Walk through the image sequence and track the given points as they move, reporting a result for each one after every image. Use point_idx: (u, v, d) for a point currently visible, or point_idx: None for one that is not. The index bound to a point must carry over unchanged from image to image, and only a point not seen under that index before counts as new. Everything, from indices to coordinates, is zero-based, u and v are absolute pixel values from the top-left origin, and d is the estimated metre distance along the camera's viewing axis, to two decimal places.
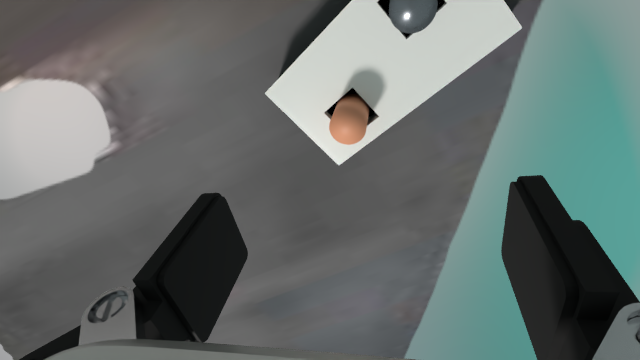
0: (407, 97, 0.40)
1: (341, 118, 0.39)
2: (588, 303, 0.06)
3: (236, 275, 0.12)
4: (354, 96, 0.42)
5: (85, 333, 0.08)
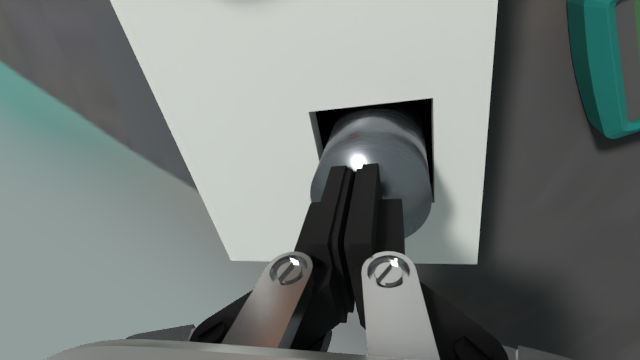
0: (163, 36, 0.13)
1: None
2: (357, 253, 0.08)
3: None
4: None
5: (260, 284, 0.08)
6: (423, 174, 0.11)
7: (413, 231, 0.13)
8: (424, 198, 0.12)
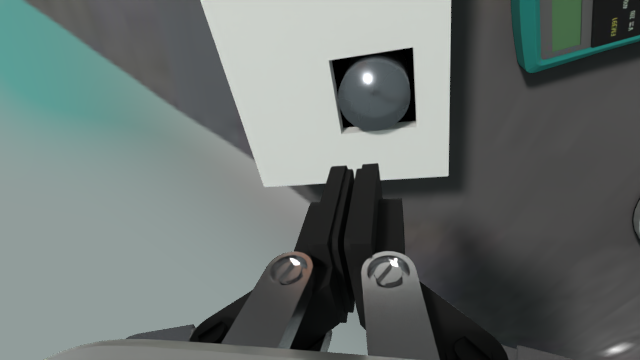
0: (230, 7, 0.20)
1: None
2: (356, 253, 0.08)
3: None
4: None
5: (260, 284, 0.08)
6: (405, 77, 0.20)
7: (400, 118, 0.21)
8: (406, 93, 0.20)
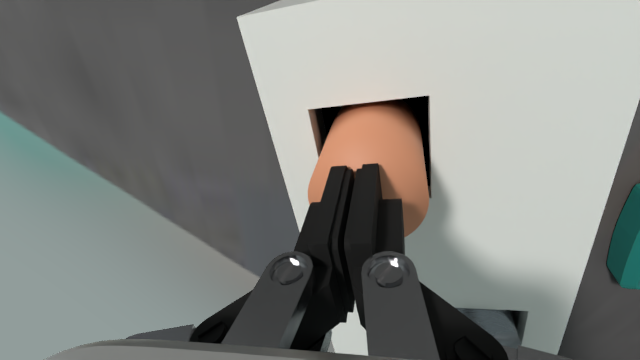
0: None
1: (404, 206, 0.12)
2: (356, 253, 0.08)
3: None
4: None
5: (260, 284, 0.08)
6: (517, 336, 0.19)
7: None
8: (515, 346, 0.19)
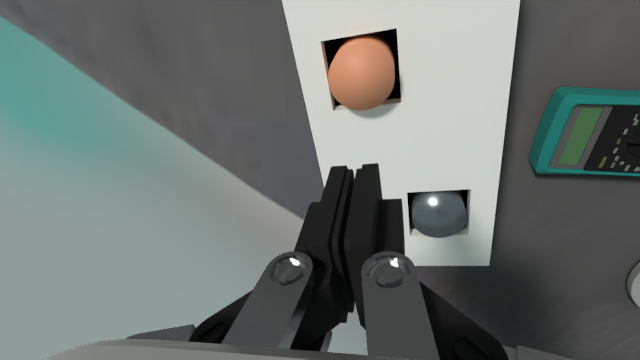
0: (338, 158, 0.27)
1: (381, 80, 0.22)
2: (356, 253, 0.08)
3: None
4: None
5: (261, 284, 0.08)
6: (464, 208, 0.27)
7: (457, 231, 0.29)
8: (463, 217, 0.28)
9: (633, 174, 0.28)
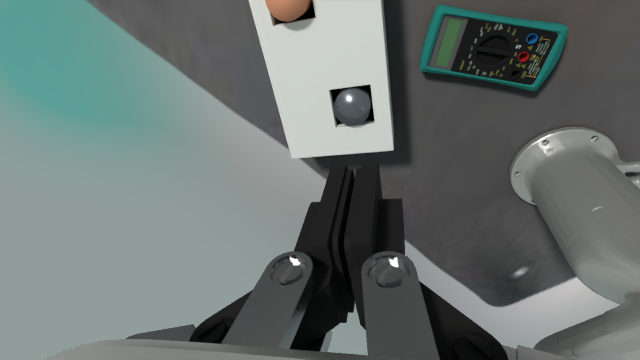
0: (279, 64, 0.40)
1: None
2: (356, 253, 0.08)
3: None
4: (310, 8, 0.39)
5: (260, 284, 0.08)
6: (366, 99, 0.39)
7: (365, 119, 0.41)
8: (367, 106, 0.40)
9: (481, 77, 0.40)
